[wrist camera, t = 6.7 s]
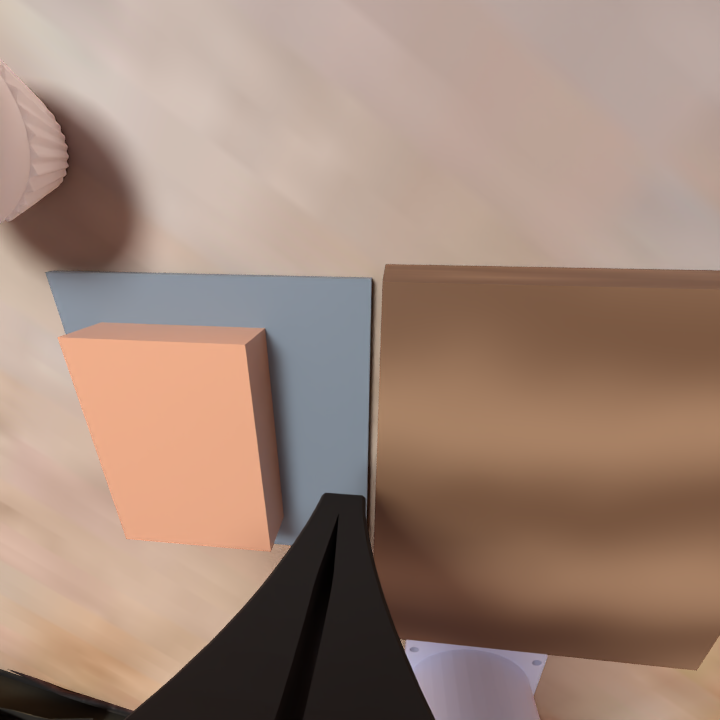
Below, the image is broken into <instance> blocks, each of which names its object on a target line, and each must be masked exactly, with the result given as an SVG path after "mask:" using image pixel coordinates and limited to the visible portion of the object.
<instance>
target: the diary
mask: <svg viewBox="0 0 720 720" xmlns="http://www.w3.org/2000/svg"><path fill="white" fill-rule="evenodd" d="M8 670H9V669H8ZM10 671H12V670H10ZM12 672H14V673H16V674H19V675H21V676H19V675H16V674H13V673H10V672H7V671H4V670H1V669H0V720H124V719H125V718H126V717H127V716H128V715H130V714H131V713H132V712H133V711H132V710H129V709H126V708H123V707H120V706H117V705H114V704H110V703H107V702H104V701H101V700H98V699H95V698H92V697H89V696H85V695H82V694H78V693H74V692H70V691H66V690H63V689H61V688H59V687H57V686H55V685H53V684H51V683H48V682H45V681H42V680H39V679H37V678H34V677H31V676H28V675H25V674H22V673H19V672H15V671H12ZM22 676H23V677H22Z"/></svg>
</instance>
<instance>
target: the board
mask: <svg viewBox="0 0 720 720" xmlns="http://www.w3.org/2000/svg"><path fill="white" fill-rule="evenodd" d="M374 562H375V566H376V569H377V573H378V576H379V580H380V583H381V587H382V590H383V593H384V596H385V599H386V602H387V605H388V608H389V611H390V614H391V617H392V620H393V622H394V625H395V628H396V630H397V633H398V636H399V638H400V639H405V640H415V641H424V642H433V643H443V644H452V645H462V646H471V647H481V648H490V649H499V650H509V651H518V652H528V653H537V654H547V655H556V656H565V657H575V658H584V659H594V660H603V661H613V662H622V663H631V664H641V665H650V666H660V667H669V668H679V669H688V670H697V669H698V668H699V666H700V665H701V663H702V662H703V660H704V658H705V657H706V655H707V654H708V652H709V651H710V649H711V648H712V646H713V645H714V643H715V641H716V640H717V638H718V637H719V635H720V271H712V270H660V269H607V268H554V267H501V266H448V265H395V264H386V266H385V271H384V277H383V288H382V318H381V348H380V379H379V409H378V440H377V470H376V500H375V531H374Z"/></svg>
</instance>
